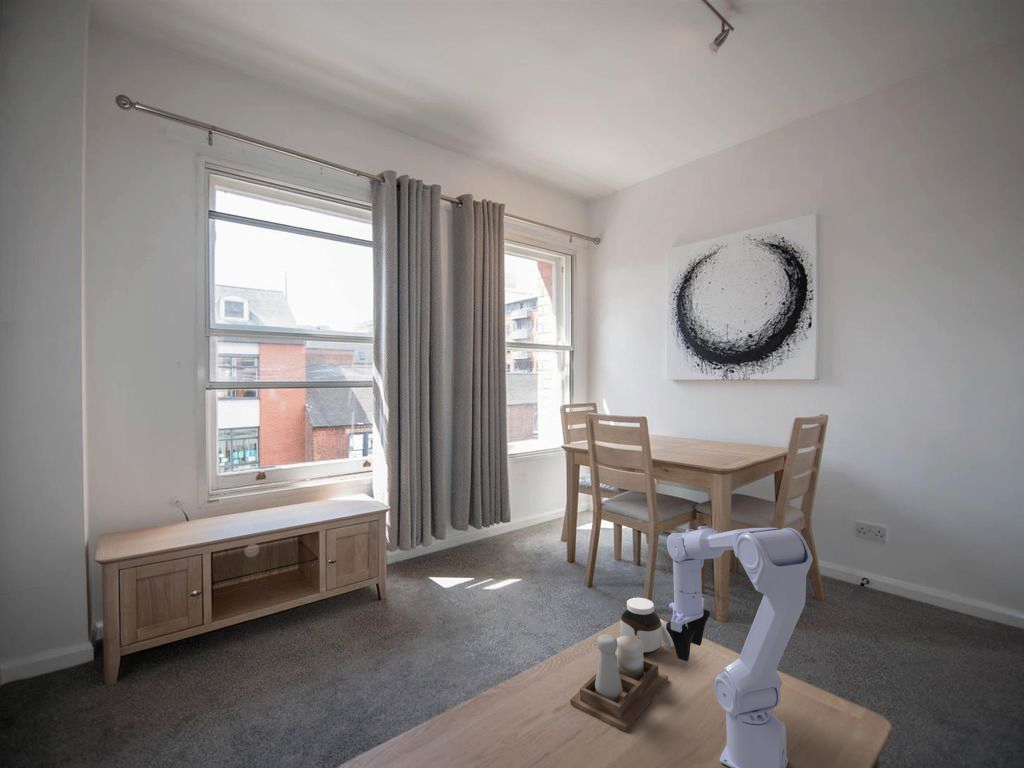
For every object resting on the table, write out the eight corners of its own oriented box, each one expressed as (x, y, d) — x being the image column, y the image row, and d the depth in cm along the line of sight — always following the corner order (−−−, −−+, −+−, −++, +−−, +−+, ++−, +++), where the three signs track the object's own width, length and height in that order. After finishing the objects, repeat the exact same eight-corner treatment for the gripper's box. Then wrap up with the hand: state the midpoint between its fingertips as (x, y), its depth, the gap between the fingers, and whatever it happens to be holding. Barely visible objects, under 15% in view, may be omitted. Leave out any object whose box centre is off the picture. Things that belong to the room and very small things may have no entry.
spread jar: (616, 646, 123) (615, 601, 123) (641, 630, 130) (640, 588, 130) (657, 665, 114) (655, 617, 114) (681, 648, 121) (679, 602, 121)
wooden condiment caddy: (668, 680, 108) (667, 641, 108) (625, 732, 92) (624, 686, 92) (617, 660, 116) (616, 623, 116) (570, 704, 100) (569, 662, 101)
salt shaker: (623, 691, 103) (621, 632, 103) (622, 709, 97) (620, 646, 97) (596, 688, 104) (594, 629, 104) (594, 704, 99) (592, 643, 99)
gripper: (681, 573, 109) (683, 631, 109) (656, 594, 98) (657, 659, 98) (713, 580, 105) (714, 641, 105) (689, 604, 94) (691, 672, 94)
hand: (689, 651), depth 101 cm, fingers open, 7 cm apart
